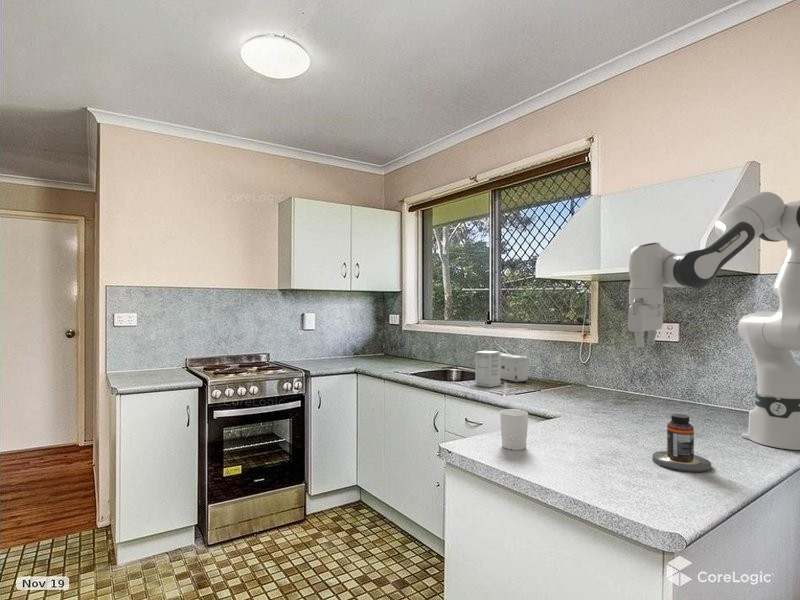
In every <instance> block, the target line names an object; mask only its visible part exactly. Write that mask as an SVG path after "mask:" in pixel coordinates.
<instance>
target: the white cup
mask: <svg viewBox="0 0 800 600" xmlns="http://www.w3.org/2000/svg"><path fill="white" fill-rule="evenodd" d="M499 414H500V415H499V417H500V418H499V420H500V421H499V422H500V435H501V446H502V448H505V449H506V448H507V450H511V449H512V450H513V451H522V450H525V449H526V448H527V438H528V427H529V426H528V424H529V423H528V422H529V413H528V411H526V410H523V409H517V408H507V409H506V408H505V409H501V410H500V411H499Z"/></svg>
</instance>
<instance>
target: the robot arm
mask: <svg viewBox="0 0 800 600" xmlns="http://www.w3.org/2000/svg"><path fill="white" fill-rule="evenodd" d="M714 233H715V235H716V239H715V240H714V241H712V242H711V243H710V244H709V245H708V246H706V247H705V248H703V249H698V250H693V251H689V252H682V253H675V252H672V251H669V249H666V248H665V247H663V246H662V245H661V244H660V243H659V242H650V243H645V244H640V245H635V246H634V247H632V249H631V251H630V255H629V261H628V276H629V279H630V282H629V286H628V305H630V306H628V307H629V308H628V314H627V315H628V317H627V328H628V331H629V332H633V333H634V338H635V342H636V347H637V348H644V347H645V346H646V344H647V345H648V346H654V345H655V344H656V342H655V341H656V338H657V337H656V336H657V330H661V329H662V328H663V325H664V314H665V313H664V311H665V309H664V305H666V302H667V301H666V300H667V299H666V296H664V287H665V288H693V289H696V288H697V289H699V288H704V287H706V286H709V285H710V284H712V282H713V281H714V280H715V279H716V277H717V275H718V274H719V272H720V270H721V269H722V268H723V267H724V266H725V265H726V264H727V263H728V262H730V261H731V260H732V259H733V258H734V257H735V256H736V255H737V254H739V253H740V252H741V251H742V250H743V249H745V248H747V246H748V245H749V244H751V242H753V241H754V240H756V239H757V238H760V239H761V240H763V241H765V242H773V243H774V242H775V243H776V242H783V241H784V242H785V241H786V244H787V251H786V254H785V255H784V257H783V259H782V262H781V264H780V267H779V270H778V272H777V274H776V276H775V279H774V282H773V285H772V291H773V293H774V295H775V296H777V298H778V301H779V302H778V303H779V304H778V308H777V311H762V310H760V311H756V312H755V311H754V312H751V313H748V314H746V315H744V316H743V317H741V318H740V320H739V322H738V325H737V332H738V335H739V336H740V338H741V339H742V340H743V341H744V342H745V343H746V345H747V346H748V348H749V350H750V353H751V354H752V357H753V360H754V364H755V368H756V393H755V397H754V401H755V402H754V403H755V407H754V408H752V409H751V410H749V413H748V429H747V431H745V432H742V433H741V437H742V438H743V439H744V438H745V439H747V440H751V441H753V442H755V443H757V444H760V445H763V446H766V447H767V446H769V447H772V448H778V449H783V450H784V449H786V450H794V451H800V365H799V363H797V362H796V360H795V359H794V357H793V355H792V351H795V352H796V351H798V352H800V200H795V201H791V202H787V203H784V200H783V199H782V198H781V197H780V196H779V195H778V194H776V193H774V192H770V191H769V192H768V191H762V192H758V193H755V194H754V195H751V196H749V197H747V198H745V199H744V200H742V201H740V202H738V203H736V204H735V205H734V206H732V207H731V208H729V209H727V211H725V212H724V213H723V214H722V215H720V216H719V218H718V219H717V220H715V223H714ZM645 332H647V338H646V344H645V339H644V335H645Z"/></svg>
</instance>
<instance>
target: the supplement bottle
mask: <svg viewBox="0 0 800 600" xmlns="http://www.w3.org/2000/svg"><path fill="white" fill-rule="evenodd" d="M670 417H671V418H670V419H671V420H670V421H669V422H668V423H667V424H666V439H667V440H666V451H667V456H668V457H669V458H670V459H672V460H675V461H679V462H691V461H693V459H694V455H695V451H694V450H695V449H694V448H695V447H694V446H695V430H694V429H695V427H694V426H693V425H692V423H691V424H690V422H691V421H690V416H689V415H688V414H683V413H672V414H671V416H670Z"/></svg>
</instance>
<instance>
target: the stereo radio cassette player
mask: <svg viewBox="0 0 800 600" xmlns="http://www.w3.org/2000/svg"><path fill="white" fill-rule="evenodd" d="M493 343H495V344H496V345H497V346H498V348H500V349H502V350H503V351H504V352H505V353H503V352H500V369H501V380H506V381H511V382H516V383H518V382H526V381H527V380H528V379H529V359H528V358H529V357H528V356H525V355H517V354H516V355H515V354H510V353H509V352H507V350H505V349H504V348H503V347H502V346H500V345H499V344H498V343H497V342H496V341H495V340H494V341H493Z"/></svg>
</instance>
